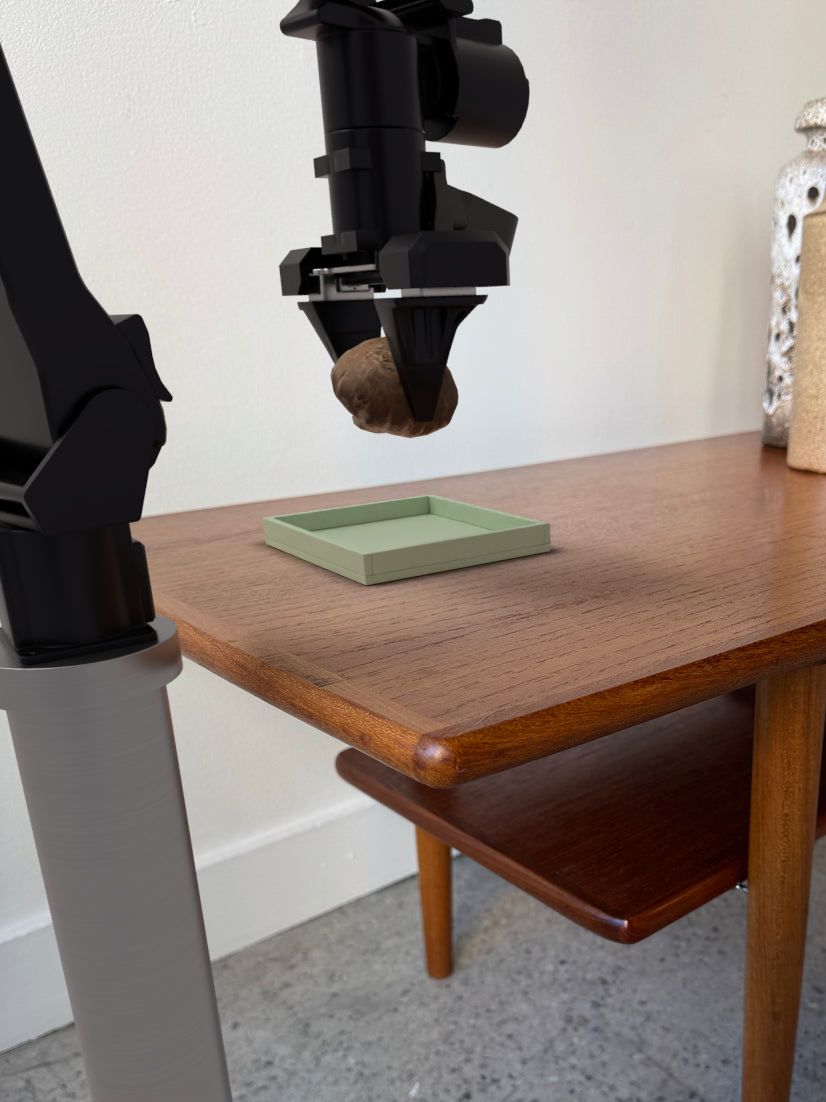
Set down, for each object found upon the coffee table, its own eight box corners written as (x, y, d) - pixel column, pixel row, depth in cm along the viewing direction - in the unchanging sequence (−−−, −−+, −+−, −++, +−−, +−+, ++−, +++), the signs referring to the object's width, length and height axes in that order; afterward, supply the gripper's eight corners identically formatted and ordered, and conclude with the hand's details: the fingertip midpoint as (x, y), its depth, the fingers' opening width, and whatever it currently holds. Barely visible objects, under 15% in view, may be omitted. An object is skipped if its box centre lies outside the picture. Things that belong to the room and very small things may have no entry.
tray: (365, 585, 69) (363, 554, 68) (265, 544, 82) (262, 517, 81) (551, 551, 77) (550, 522, 76) (432, 518, 90) (431, 494, 89)
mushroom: (318, 378, 68) (349, 294, 64) (433, 419, 71) (469, 341, 67) (310, 451, 63) (343, 365, 58) (434, 492, 65) (474, 413, 61)
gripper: (587, 118, 56) (590, 417, 62) (420, 161, 71) (435, 399, 76) (403, 105, 50) (425, 435, 56) (263, 154, 65) (291, 412, 71)
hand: (396, 417), depth 65 cm, fingers closed on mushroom, 7 cm apart
